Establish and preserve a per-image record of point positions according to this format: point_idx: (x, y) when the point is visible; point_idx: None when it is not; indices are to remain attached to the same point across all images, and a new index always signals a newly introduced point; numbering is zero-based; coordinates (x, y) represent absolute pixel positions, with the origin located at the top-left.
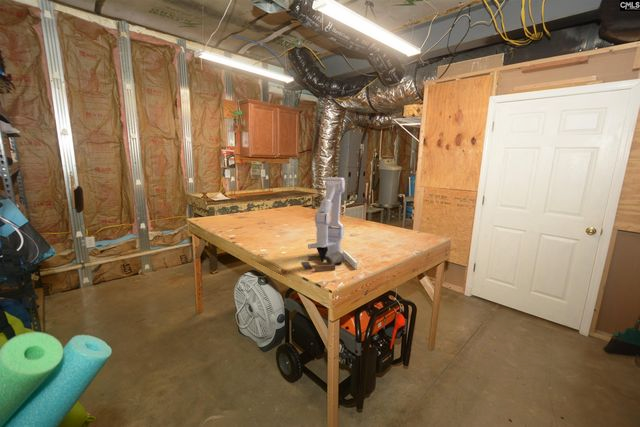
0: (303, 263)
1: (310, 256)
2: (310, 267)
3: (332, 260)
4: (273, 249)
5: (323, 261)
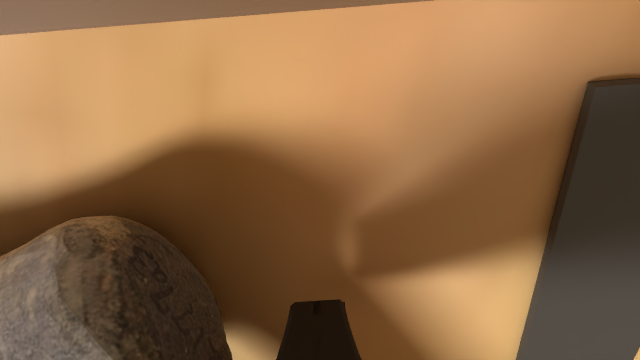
0: (631, 328)
1: None
2: (607, 150)
3: (52, 276)
4: None
5: (292, 305)
